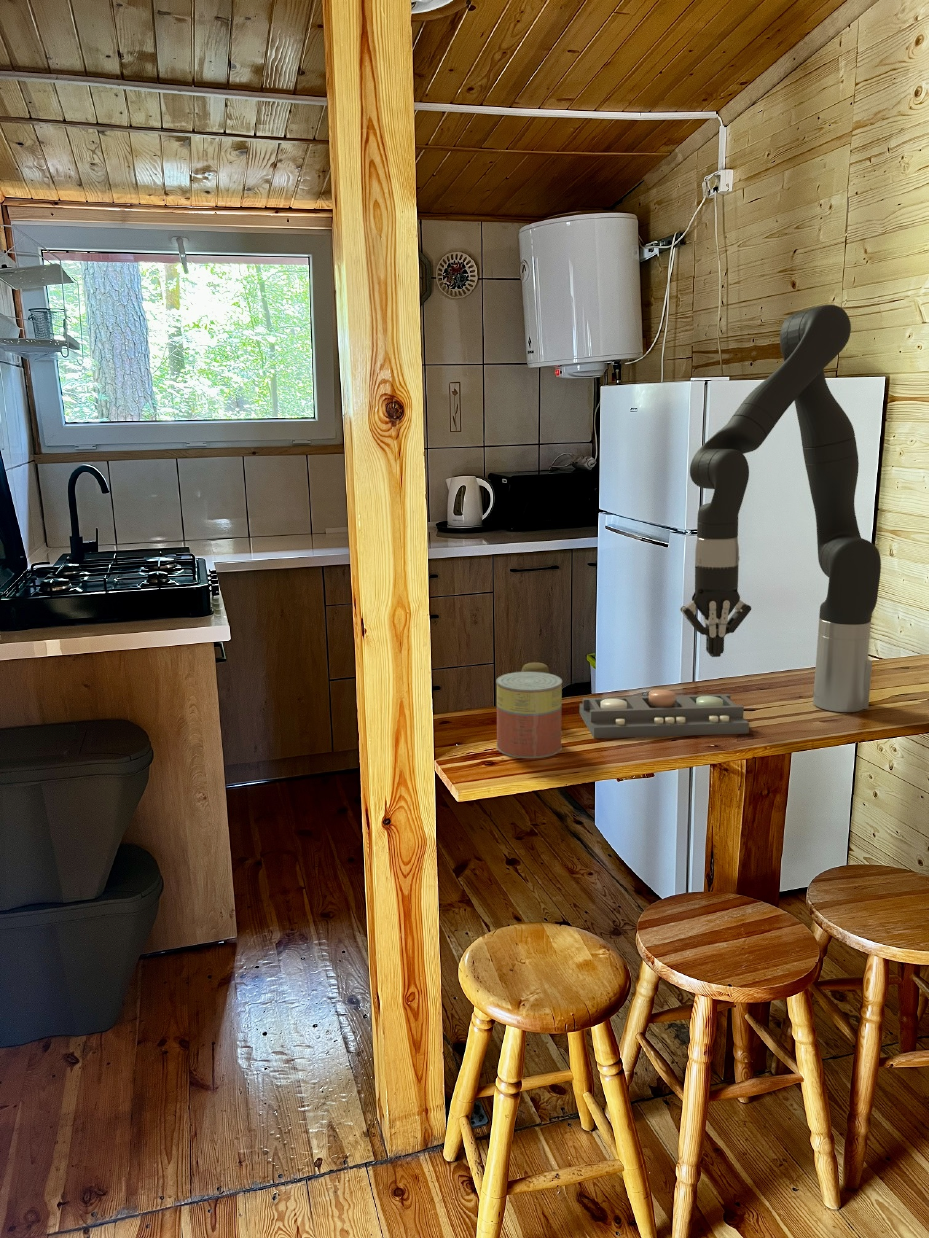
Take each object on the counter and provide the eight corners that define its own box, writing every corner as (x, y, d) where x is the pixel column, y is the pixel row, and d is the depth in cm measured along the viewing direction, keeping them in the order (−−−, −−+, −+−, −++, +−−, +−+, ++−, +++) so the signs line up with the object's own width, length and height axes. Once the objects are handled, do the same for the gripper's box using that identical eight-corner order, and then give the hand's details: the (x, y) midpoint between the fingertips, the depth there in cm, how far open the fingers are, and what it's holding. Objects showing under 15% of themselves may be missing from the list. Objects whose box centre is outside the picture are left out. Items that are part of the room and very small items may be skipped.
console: (722, 709, 179) (723, 689, 179) (748, 733, 166) (749, 712, 165) (579, 713, 178) (579, 693, 177) (593, 738, 164) (594, 716, 163)
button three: (670, 699, 173) (671, 689, 173) (678, 707, 169) (678, 696, 168) (645, 700, 173) (646, 689, 173) (652, 707, 168) (652, 697, 168)
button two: (717, 705, 174) (718, 695, 174) (726, 713, 170) (726, 703, 169) (692, 706, 174) (693, 696, 174) (700, 714, 169) (701, 704, 169)
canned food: (530, 731, 168) (531, 667, 166) (575, 748, 160) (576, 681, 157) (483, 745, 161) (482, 679, 159) (526, 763, 153) (526, 693, 150)
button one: (623, 708, 173) (623, 698, 173) (629, 716, 169) (629, 706, 168) (597, 709, 173) (598, 699, 172) (603, 717, 168) (603, 706, 168)
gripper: (745, 557, 169) (742, 649, 173) (674, 560, 169) (673, 652, 172) (761, 563, 162) (757, 659, 166) (687, 567, 161) (685, 663, 165)
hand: (714, 655), depth 169 cm, fingers closed
